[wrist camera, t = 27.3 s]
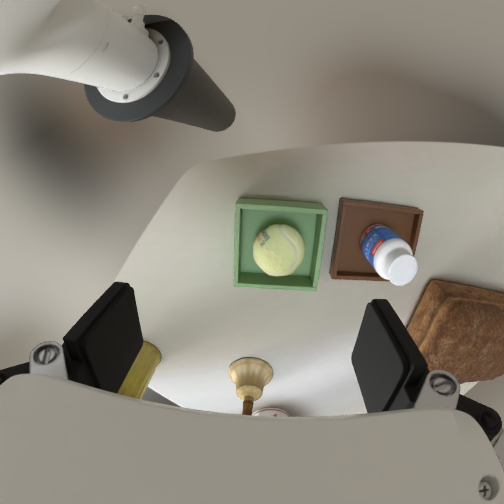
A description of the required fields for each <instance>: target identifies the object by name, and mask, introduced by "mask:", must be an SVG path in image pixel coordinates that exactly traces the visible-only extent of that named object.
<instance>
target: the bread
mask: <svg viewBox="0 0 504 504" xmlns="http://www.w3.org/2000/svg"><path fill="white" fill-rule="evenodd" d="M407 331H408V332H409V334H410V336H411V337H412V339H413V340H414V342H415V344H416V345H417V347H418V348H419V350H420V352H421V353H422V355H423V357H424V358H425V360H426V362H427V364H428V367H427V368H428V369H429V371H430V372H431V371H434V370H444V371H447V372H449V373H451V374H452V375H453V376H455V377H456V379H457V380H458V381H459V384H462V383H465V382H475V381H486V380H492V379H494V378H496V377H498V376H501V375H503V374H504V294H502V293H499V292H495V291H490V290H487V289H481V288H478V287H472V286H468V285H459V284H455V283H451V282H445V281H439V280H432V281H431V282H430V284H429V285H428V286H427V288H426V291H425V293H424V295H423V297H422V299H421V301H420V303H419V305H418V307H417V309H416V311H415V314H414V316H413V318H412V320H411V322H410V324H409V326H408V328H407Z"/></svg>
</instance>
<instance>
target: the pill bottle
mask: <svg viewBox="0 0 504 504" xmlns="http://www.w3.org/2000/svg"><path fill="white" fill-rule="evenodd" d="M360 248H361V251H362V253H363V254H364V256H365V257H366V258H367V259H368V261H369V262H370V263H371V265H372V266H373V267H374V269H375V270H376V272H377V273H378V274H379V275H380V276H381V277H382V278H384V279H387V280H390V281H391V282H392V283H393V284H395V285H398V286H400V285H405V284H407V283H409V282H410V281H411V280H412V279H413V278H414V276H415V275H416V272H417V261H416V259H415V258H414V257H413V253H412V250H411V248H410V246H409V245H408V244H407V243H406V242H405V241H404V240H403V239H402V238H400V237H399V236H398V235H397V234H396V233H394V232H393V231H392V230H391V229H390V228H388V227H387V226H385V225H382V224H375V225H372V226H370V227H368V228H367V229H366V230H365V231H364V233H363V234H362V236H361V239H360Z"/></svg>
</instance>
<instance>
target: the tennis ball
mask: <svg viewBox="0 0 504 504" xmlns="http://www.w3.org/2000/svg"><path fill="white" fill-rule="evenodd" d="M304 251H305V247H304V242H303V239H302V237H301V235H300V234H299V233H298V231H297V230H295V229H294V228H292V227H290V226H288V225H285V224H282V225H279V224H274V225H270V226H268V227H267V228H265V229H264V230H262V231H261V232H260V233H259V235H258V236H257V237H256V239H255V241H254V244H253V257H254V260H255V262H256V264H257V265H258V266H259V267H260V268H261V269H262V270H263V271H264V272H265V273H267V274H268V275H269V276H277V277H278V276H285V275H286V276H288V274H289V275H290V274H292V273H294V271H295V270H296V269H297V267H299V265H300V264H301V262H302V260H303V257H304Z"/></svg>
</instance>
